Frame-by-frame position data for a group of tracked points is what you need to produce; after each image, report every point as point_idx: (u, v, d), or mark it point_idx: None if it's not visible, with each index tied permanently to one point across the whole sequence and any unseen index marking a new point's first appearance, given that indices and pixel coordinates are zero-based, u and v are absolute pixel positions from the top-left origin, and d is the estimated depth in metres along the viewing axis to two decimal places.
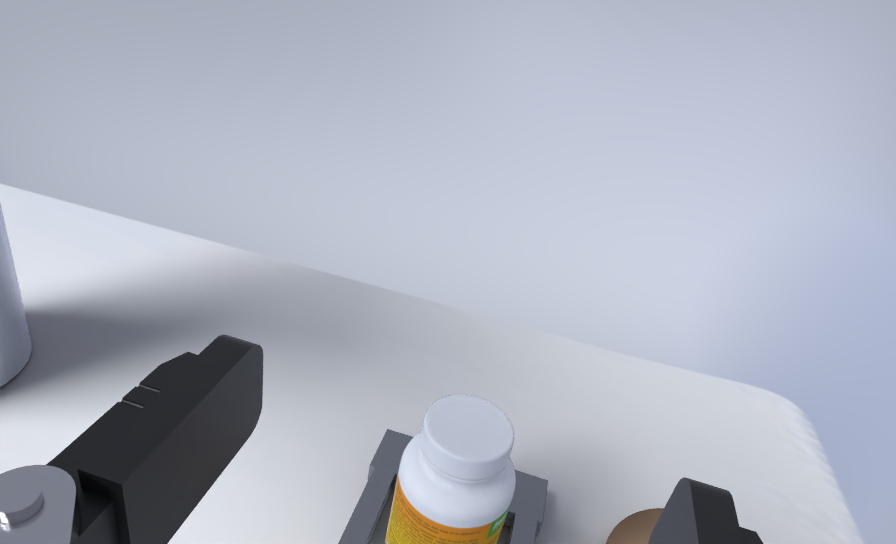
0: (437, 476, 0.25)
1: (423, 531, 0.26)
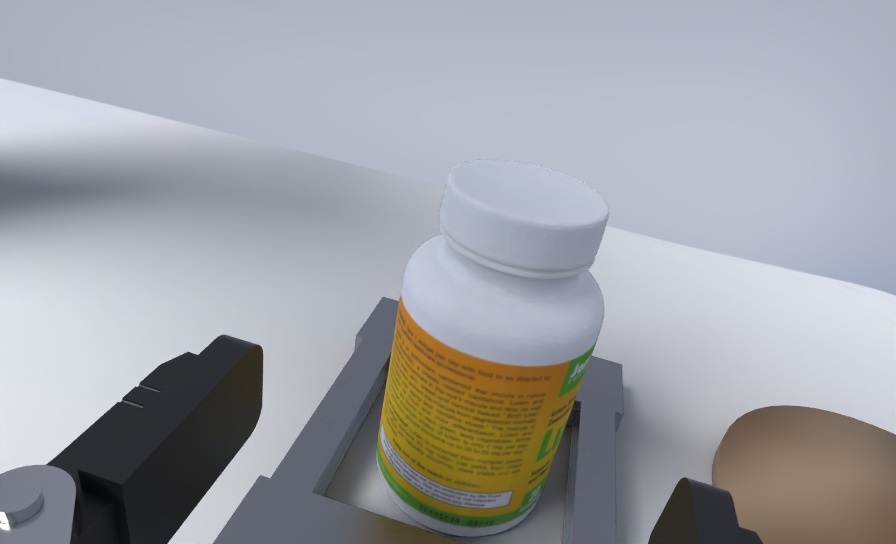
0: (473, 275, 0.14)
1: (447, 379, 0.14)
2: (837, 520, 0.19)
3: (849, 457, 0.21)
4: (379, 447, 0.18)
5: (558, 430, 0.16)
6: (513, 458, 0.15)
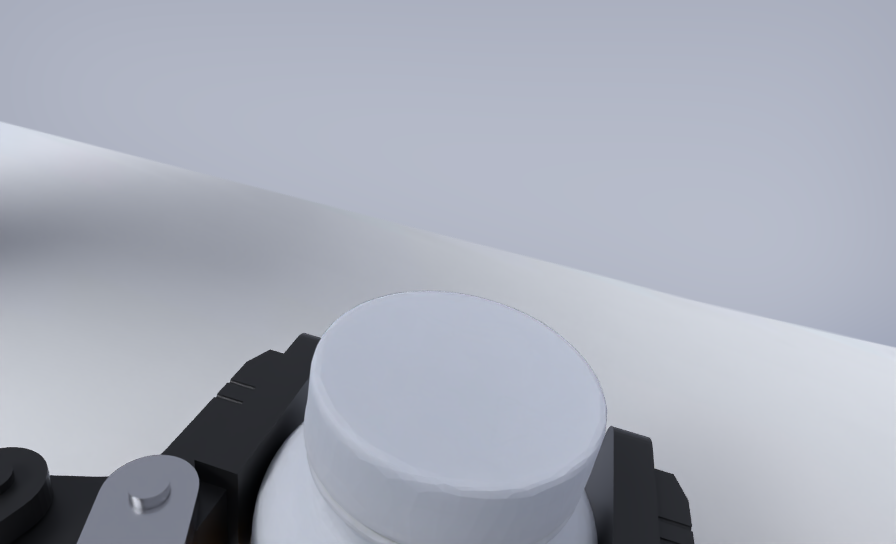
0: (354, 539, 0.07)
1: None
2: None
3: None
4: None
5: None
6: None
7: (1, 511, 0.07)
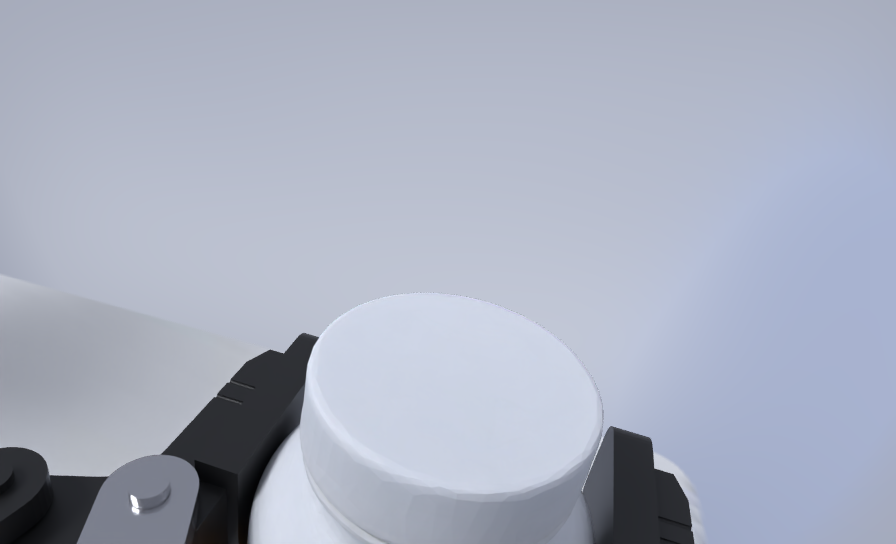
0: (351, 541, 0.07)
1: None
2: None
3: None
4: None
5: None
6: None
7: (1, 511, 0.07)
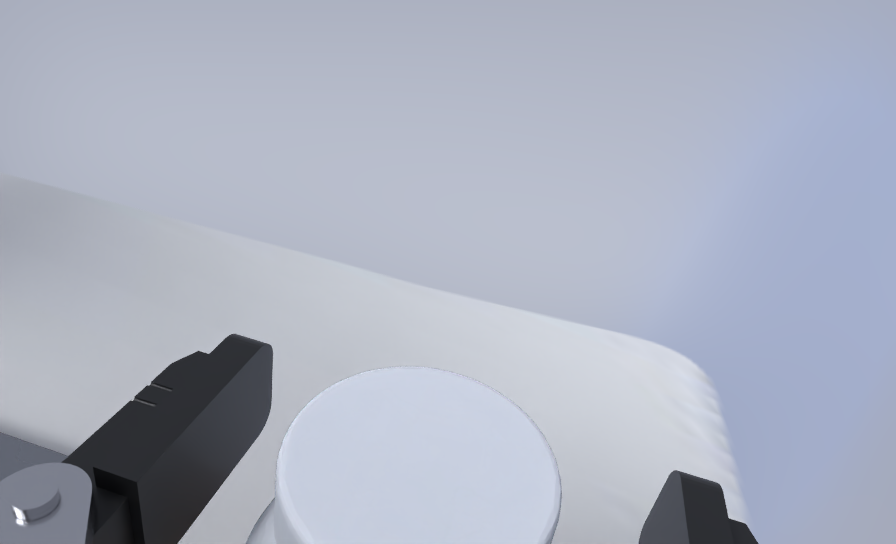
0: None
1: None
2: None
3: None
4: None
5: None
6: None
7: None
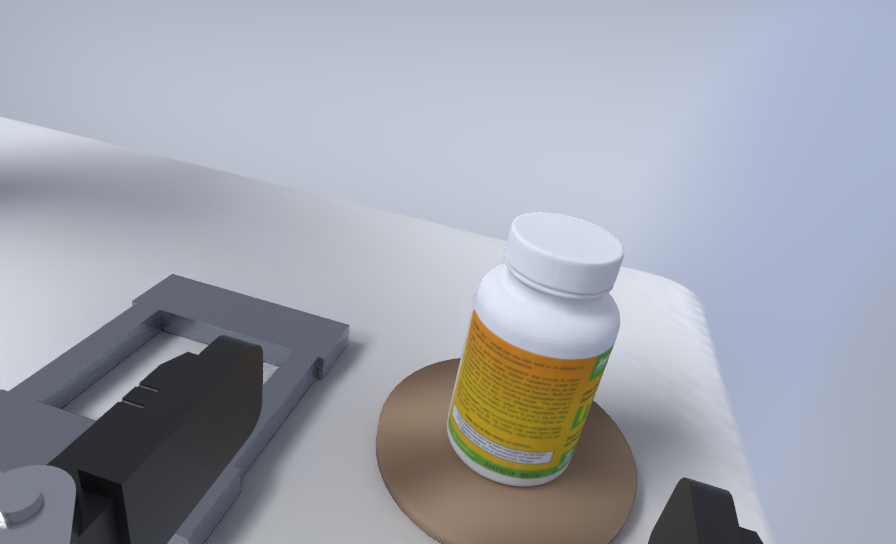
0: (530, 296, 0.20)
1: (511, 368, 0.20)
2: None
3: None
4: (451, 422, 0.24)
5: (586, 407, 0.22)
6: (555, 426, 0.21)
7: None
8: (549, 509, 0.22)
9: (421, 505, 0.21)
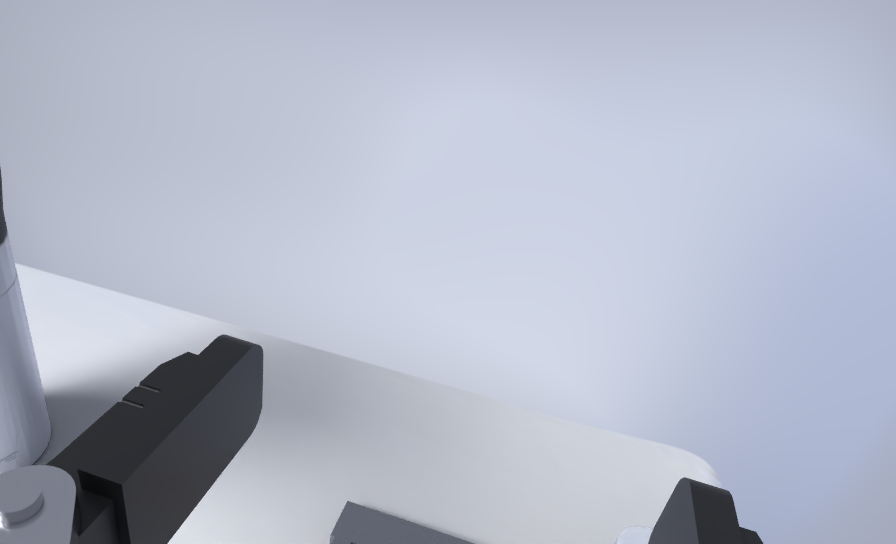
0: None
1: None
2: None
3: None
4: None
5: None
6: None
7: None
8: None
9: None
